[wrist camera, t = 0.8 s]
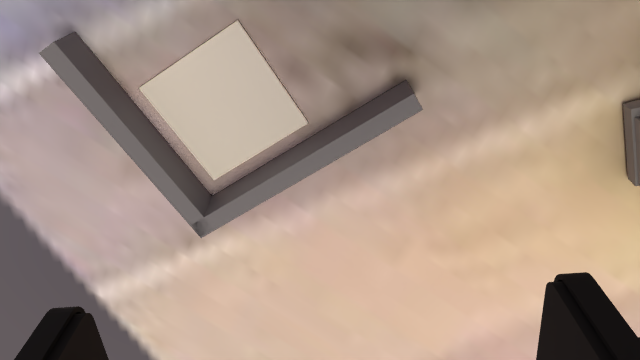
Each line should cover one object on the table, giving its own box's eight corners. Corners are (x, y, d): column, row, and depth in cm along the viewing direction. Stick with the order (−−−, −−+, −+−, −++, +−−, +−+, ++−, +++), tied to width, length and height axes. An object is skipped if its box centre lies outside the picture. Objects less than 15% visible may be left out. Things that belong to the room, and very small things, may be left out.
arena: (286, -127, 29) (284, -132, 27) (414, 94, 35) (422, 109, 32) (61, 42, 33) (38, 53, 31) (208, 216, 39) (201, 238, 36)
